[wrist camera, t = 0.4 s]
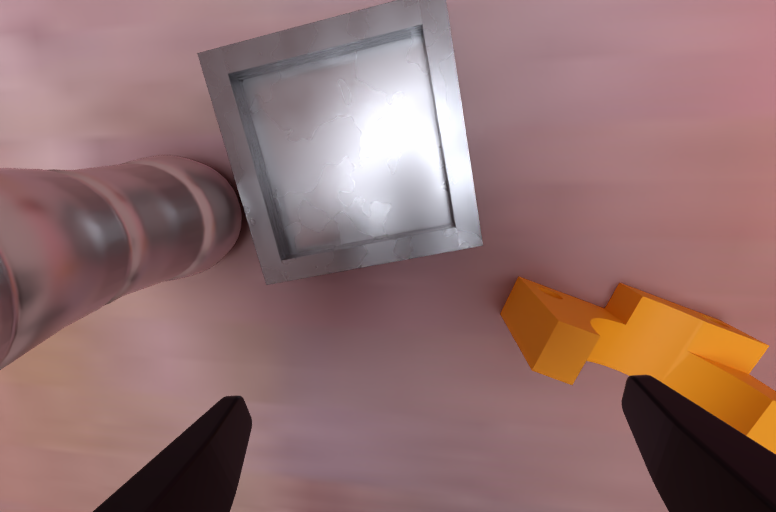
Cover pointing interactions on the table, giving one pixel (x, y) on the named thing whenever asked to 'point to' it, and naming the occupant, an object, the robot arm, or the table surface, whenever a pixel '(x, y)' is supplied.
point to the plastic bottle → (103, 238)
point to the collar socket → (348, 140)
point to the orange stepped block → (646, 349)
